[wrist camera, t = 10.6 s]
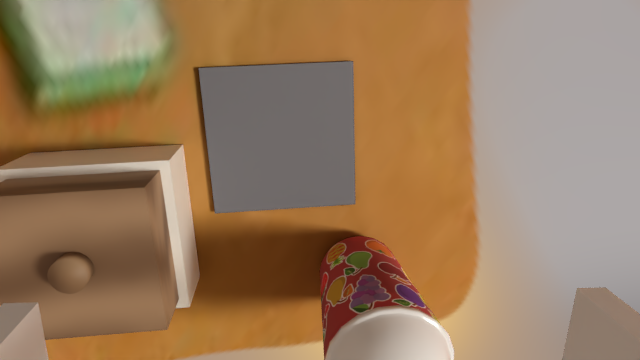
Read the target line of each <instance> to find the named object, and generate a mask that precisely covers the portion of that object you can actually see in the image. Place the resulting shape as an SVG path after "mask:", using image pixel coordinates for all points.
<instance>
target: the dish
mask: <svg viewBox="0 0 640 360" xmlns="http://www.w3.org/2000/svg"><path fill="white" fill-rule="evenodd" d="M151 170H160V174H161V181H162V187H163V194H164V201H165V207H166V214H167V221H168V228H169V234H170V241H171V248H172V254H173V261H174V268H175V275H176V281H177V288H178V295H179V300H178V303H177V306H176V308H185V307H190V305H191V302H192V299H193V296H194V293H195V290H196V287H197V283H198V280H199V277H200V272H199V264H198V257H197V249H196V241H195V233H194V226H193V218H192V210H191V202H190V195H189V187H188V179H187V172H186V164H185V156H184V148H183V144H182V145H164V146H146V147H127V148H109V149H91V150H72V151H54V152H36V153H28V154H26V155H24V156H22V157H20V158H18V159H16V160H13V161H11V162H9V163H7V164H5V165H3V166H1V167H0V182H2V181H4V180H6V179H17V178H34V177H50V176H67V175H84V174H101V173H117V172H134V171H151Z"/></svg>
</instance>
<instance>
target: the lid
mask: <svg viewBox="0 0 640 360" xmlns="http://www.w3.org/2000/svg"><path fill="white" fill-rule="evenodd" d="M178 300H179V295H178V288H177V281H176V275H175V268H174V261H173V254H172V248H171V241H170V234H169V228H168V221H167V214H166V207H165V201H164V194H163V187H162V181H161V174H160V170H151V171H134V172H117V173H101V174H84V175H67V176H50V177H34V178H17V179H6V180H4V181H2V182H0V305H2V304H3V303H35V302H38V304H39V310H40V315H41V321H42V326H43V332H44V338H45V340H49V339H61V338H73V337H85V336H97V335H109V334H121V333H133V332H145V331H157V330H167V329H168V327H169V324H170V321H171V319H172V316H173V313H174V311H175V308H176V306H177V303H178Z"/></svg>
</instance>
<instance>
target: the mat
mask: <svg viewBox="0 0 640 360" xmlns="http://www.w3.org/2000/svg"><path fill="white" fill-rule="evenodd" d="M199 76H200V85H201V94H202V103H203V112H204V120H205V129H206V138H207V147H208V156H209V165H210V174H211V182H212V191H213V200H214V209H215V213H228V212H243V211H258V210H274V209H289V208H304V207H320V206H335V205H350V204H355V152H354V86H353V61H342V62H319V63H296V64H273V65H250V66H227V67H204V68H199Z"/></svg>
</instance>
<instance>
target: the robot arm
mask: <svg viewBox="0 0 640 360" xmlns="http://www.w3.org/2000/svg"><path fill="white" fill-rule="evenodd" d="M0 360H48V354H47V349H46V343H45V338H44V332H43V326H42V321H41V315H40V310H39V304H38V302H35V303H3V304H2V305H1V306H0ZM562 360H640V314H639V313H638V312H636V311H635V310H634V309H632V308H631V307H630V306H629V305H627V304H626V303H625V302H623V301H622V300H621V299H619V298H618V297H617V296H616V295H614V294H613V293H612V292H610V291H609V290H608V289H606V288H577V291H576V296H575V301H574V305H573V311H572V315H571V320H570V325H569V329H568V334H567V339H566V344H565V349H564V353H563V358H562Z"/></svg>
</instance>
